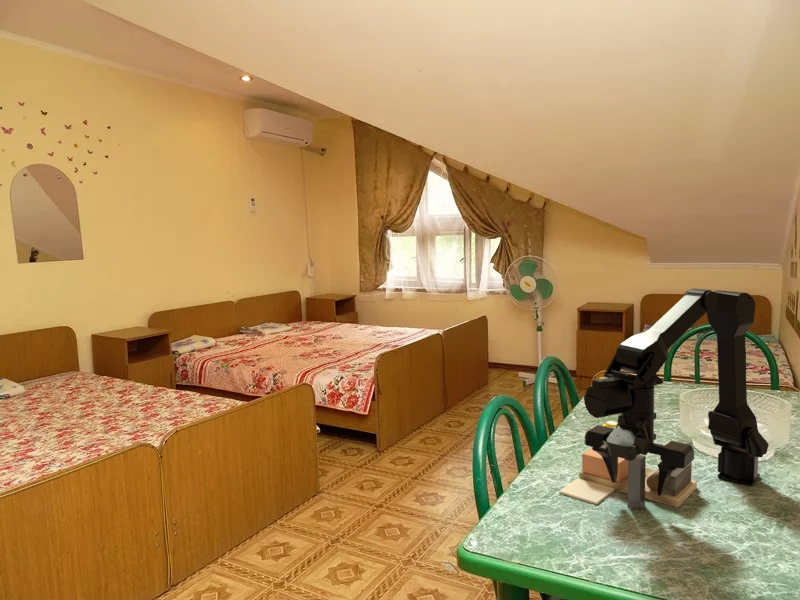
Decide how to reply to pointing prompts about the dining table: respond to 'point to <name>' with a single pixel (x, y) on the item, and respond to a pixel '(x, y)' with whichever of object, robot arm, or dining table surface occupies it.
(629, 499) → the gray rectangular bar
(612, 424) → the watch
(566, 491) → the beige square tile
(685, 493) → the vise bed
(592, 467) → the orange block with hole
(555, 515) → the dining table surface
